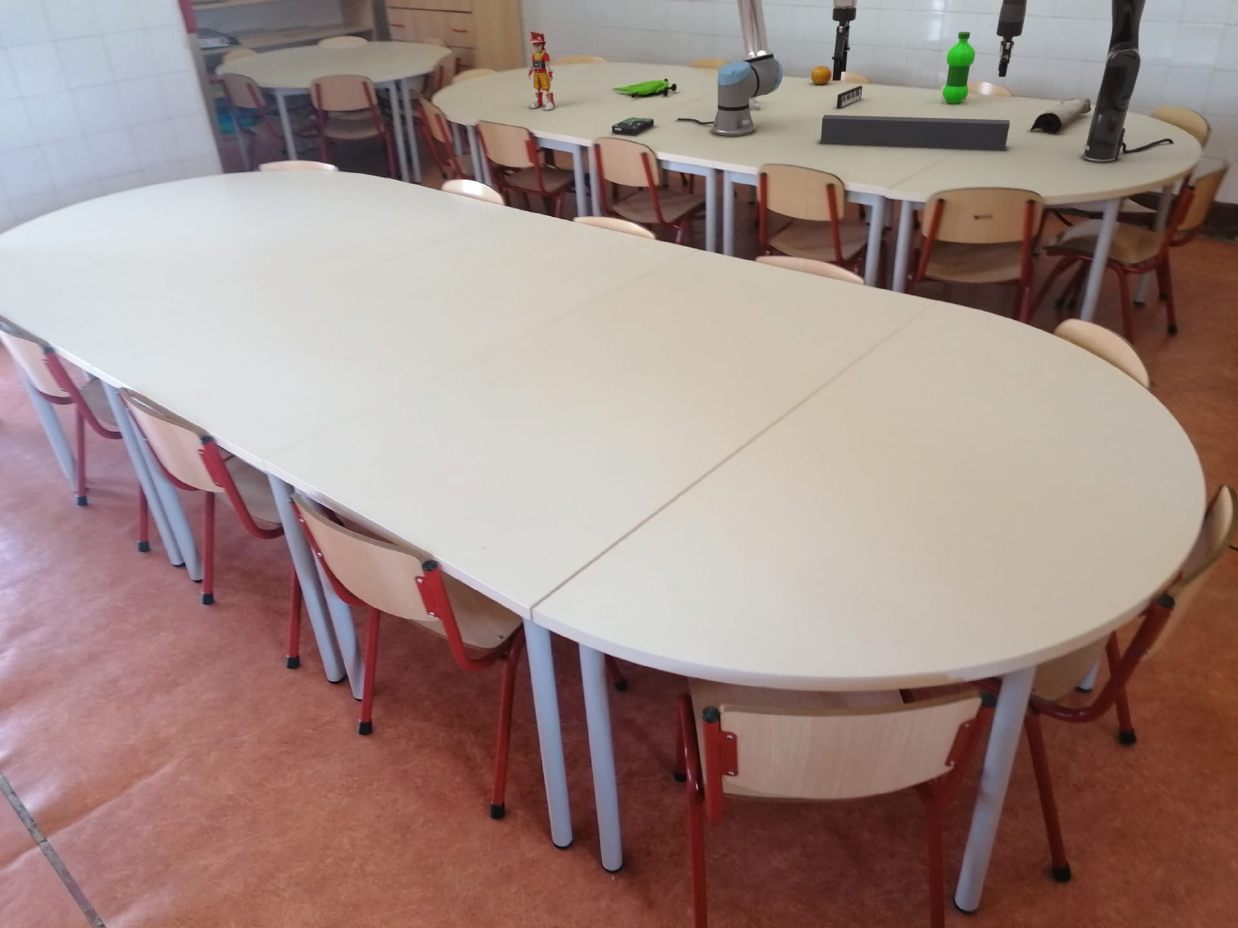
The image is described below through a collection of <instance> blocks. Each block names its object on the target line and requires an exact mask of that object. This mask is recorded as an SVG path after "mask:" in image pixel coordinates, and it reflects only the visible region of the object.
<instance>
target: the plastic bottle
mask: <svg viewBox="0 0 1238 928" xmlns="http://www.w3.org/2000/svg"><path fill="white" fill-rule="evenodd" d="M970 36H971V32H970V31H959V32H958V36H957V39H958V42H957V43H956V44H954V45H953V46H952V47H951V48H950V49H949V50H948V52H947V54H946V63H947V64H948V69H947V70H948V71H947V76H946V77H947V78H946V84H945V85H944V87H943V90H942V97H943V99H944V100H945V101H946V102H947V103H948V104H960V103H961V102H963V101H964V100H966V98H967V96H968V95H969V85H968V79H969V73H970V67H971V65H972V64H973V63H974V61H975V57H976V51H975V49H974V47H972V45H971V44H970V43H969V42H968V41H969V39H970V38H971V37H970Z"/></svg>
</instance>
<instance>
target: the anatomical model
mask: <svg viewBox="0 0 1238 928" xmlns="http://www.w3.org/2000/svg"><path fill="white" fill-rule="evenodd" d="M756 102H757V97H753V98H749V110H750V109H760V108H761V107H762V104H758V103H756Z"/></svg>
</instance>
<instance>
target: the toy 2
mask: <svg viewBox="0 0 1238 928" xmlns="http://www.w3.org/2000/svg"><path fill="white" fill-rule="evenodd" d="M669 85H670V83H669V79H668V78H664V79H663V80H649V81H644V82H640V83H634V84H629V85H627V86H621V87H613V88H612V89H613V90H616V91H619V92H623V93H627V94H628V93H629V94H631V95H630V96H631V98H632V99H634V98H636V96H637V95H650V94H652V93H654V94H658V93H662V95H663V96H665V97H667V96H668V95H669V90H671V91H672V92H676V91H677V84H676V83H672V84H671V86H669Z"/></svg>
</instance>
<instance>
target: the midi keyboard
mask: <svg viewBox="0 0 1238 928" xmlns="http://www.w3.org/2000/svg"><path fill="white" fill-rule="evenodd" d="M862 93H863V85H858V86H856V87H855V86H854V87H853V88H851V89H847V90H846V91H843V92H840V93H838V94H837V98H836V108H837V109H841V108H843V107H844V106H846V105H849V104H852V103H855V102H856V101H859V100H862Z"/></svg>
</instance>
